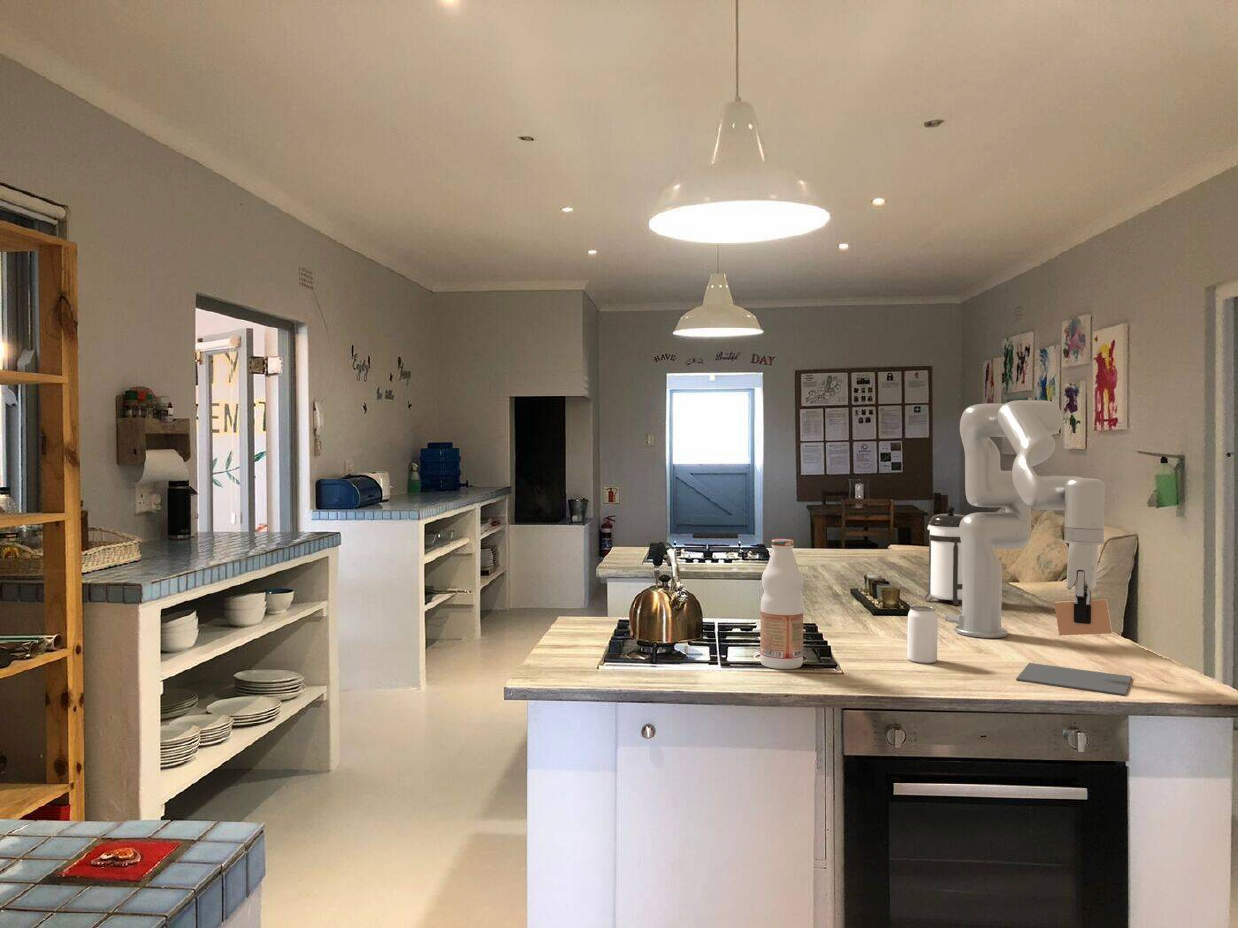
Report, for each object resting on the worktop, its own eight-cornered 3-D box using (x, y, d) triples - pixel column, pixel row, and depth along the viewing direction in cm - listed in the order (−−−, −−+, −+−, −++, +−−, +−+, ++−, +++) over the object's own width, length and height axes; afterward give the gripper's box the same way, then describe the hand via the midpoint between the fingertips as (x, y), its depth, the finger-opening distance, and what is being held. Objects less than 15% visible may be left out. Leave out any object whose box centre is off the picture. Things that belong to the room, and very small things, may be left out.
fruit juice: (763, 669, 195) (765, 542, 194) (757, 659, 204) (758, 537, 203) (806, 670, 195) (808, 542, 194) (798, 659, 204) (799, 537, 203)
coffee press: (929, 605, 271) (930, 507, 271) (920, 596, 287) (921, 503, 286) (989, 607, 269) (990, 508, 268) (976, 598, 284) (978, 504, 283)
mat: (1016, 680, 187) (1016, 678, 187) (1029, 664, 200) (1029, 662, 200) (1125, 695, 176) (1125, 693, 176) (1131, 678, 189) (1131, 676, 189)
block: (1059, 635, 192) (1054, 602, 192) (1060, 633, 193) (1055, 601, 193) (1111, 633, 186) (1106, 599, 187) (1112, 632, 187) (1106, 598, 188)
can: (936, 658, 206) (937, 606, 206) (937, 664, 200) (937, 611, 199) (907, 655, 208) (908, 604, 208) (906, 662, 202) (907, 609, 202)
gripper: (1069, 532, 198) (1068, 614, 198) (1059, 538, 185) (1058, 626, 185) (1107, 534, 194) (1106, 618, 194) (1100, 540, 181) (1098, 630, 181)
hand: (1082, 621), depth 190 cm, fingers closed on block, 1 cm apart
